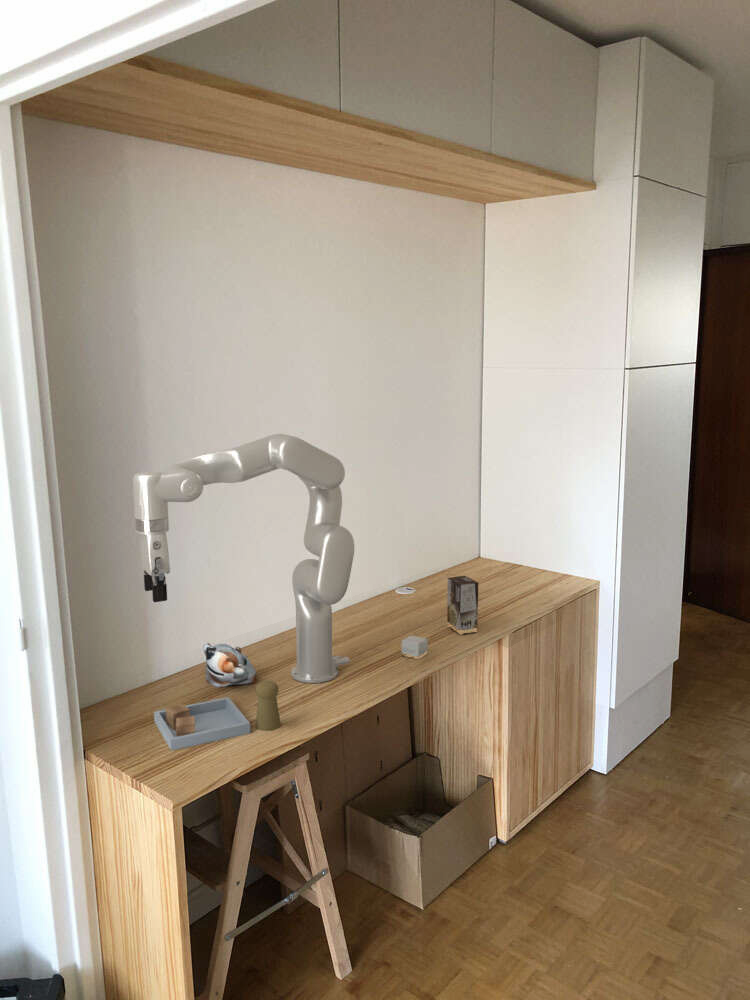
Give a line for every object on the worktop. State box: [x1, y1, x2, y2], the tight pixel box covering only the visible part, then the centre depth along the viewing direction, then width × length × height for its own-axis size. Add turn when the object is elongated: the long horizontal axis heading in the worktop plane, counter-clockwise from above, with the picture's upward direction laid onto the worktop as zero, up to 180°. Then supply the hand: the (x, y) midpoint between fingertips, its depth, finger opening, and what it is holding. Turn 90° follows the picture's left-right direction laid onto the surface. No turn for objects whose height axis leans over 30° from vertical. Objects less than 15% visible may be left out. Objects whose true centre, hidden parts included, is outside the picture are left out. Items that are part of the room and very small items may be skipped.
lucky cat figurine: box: [203, 642, 258, 688], centre depth 216 cm, size 15×12×14 cm
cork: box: [254, 680, 282, 732], centre depth 191 cm, size 6×6×11 cm
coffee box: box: [446, 575, 479, 630], centre depth 257 cm, size 9×6×16 cm
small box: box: [401, 635, 429, 657], centre depth 237 cm, size 6×6×5 cm
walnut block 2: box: [176, 716, 195, 737], centre depth 186 cm, size 4×4×4 cm
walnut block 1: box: [165, 703, 190, 730], centre depth 192 cm, size 4×4×4 cm
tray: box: [153, 696, 251, 752], centre depth 191 cm, size 18×16×3 cm
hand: (155, 595), depth 196 cm, fingers open, 9 cm apart
